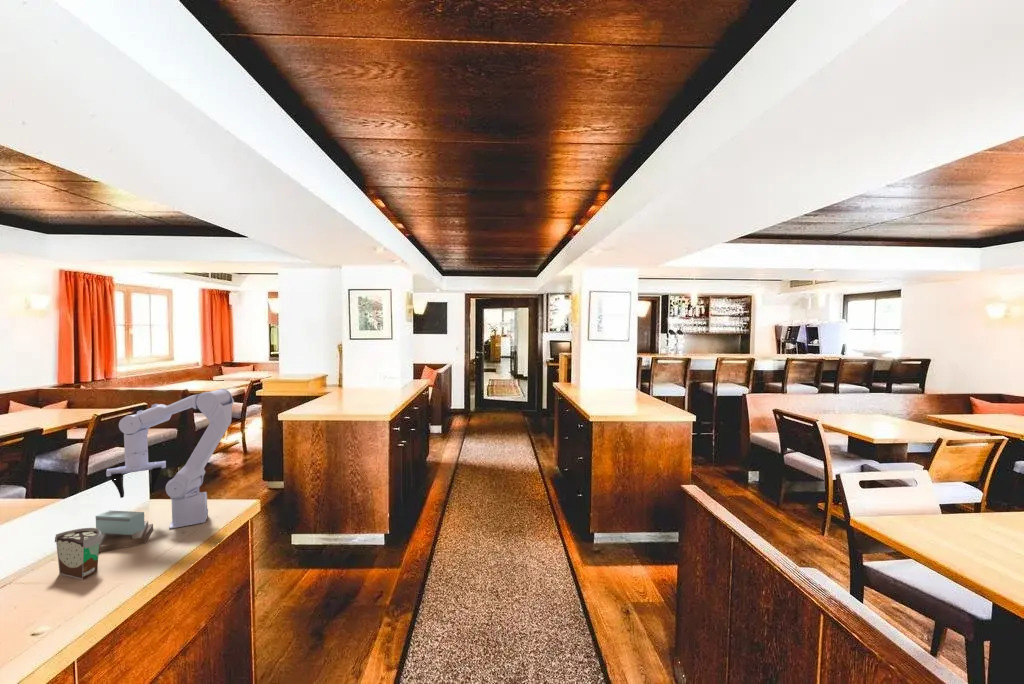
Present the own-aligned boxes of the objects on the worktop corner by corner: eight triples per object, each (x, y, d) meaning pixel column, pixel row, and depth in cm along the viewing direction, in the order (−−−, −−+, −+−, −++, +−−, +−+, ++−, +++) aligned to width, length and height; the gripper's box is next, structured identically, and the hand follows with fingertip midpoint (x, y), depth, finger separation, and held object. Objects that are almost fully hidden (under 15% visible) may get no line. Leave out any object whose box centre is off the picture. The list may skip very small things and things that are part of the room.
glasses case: (144, 528, 134) (144, 512, 134) (130, 535, 130) (129, 517, 130) (110, 527, 136) (109, 510, 136) (95, 533, 132) (94, 516, 132)
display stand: (153, 528, 142) (152, 518, 142) (144, 543, 131) (144, 533, 131) (98, 538, 135) (98, 528, 135) (85, 554, 125) (84, 544, 125)
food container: (115, 568, 117) (114, 530, 117) (86, 580, 111) (85, 540, 111) (85, 561, 121) (83, 524, 121) (55, 573, 115) (54, 534, 115)
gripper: (103, 458, 137) (105, 503, 137) (164, 450, 145) (165, 492, 145) (107, 453, 143) (109, 496, 143) (165, 446, 151) (167, 486, 151)
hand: (138, 494), depth 145 cm, fingers open, 7 cm apart
